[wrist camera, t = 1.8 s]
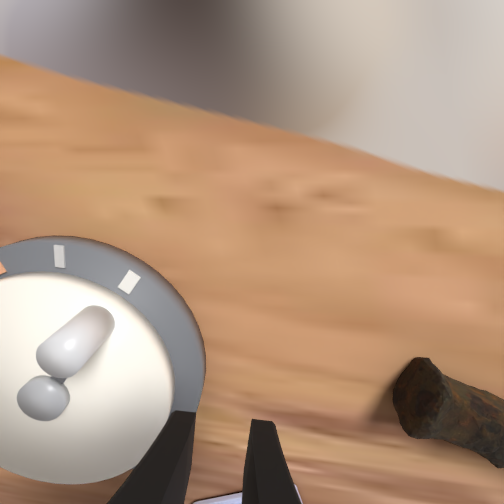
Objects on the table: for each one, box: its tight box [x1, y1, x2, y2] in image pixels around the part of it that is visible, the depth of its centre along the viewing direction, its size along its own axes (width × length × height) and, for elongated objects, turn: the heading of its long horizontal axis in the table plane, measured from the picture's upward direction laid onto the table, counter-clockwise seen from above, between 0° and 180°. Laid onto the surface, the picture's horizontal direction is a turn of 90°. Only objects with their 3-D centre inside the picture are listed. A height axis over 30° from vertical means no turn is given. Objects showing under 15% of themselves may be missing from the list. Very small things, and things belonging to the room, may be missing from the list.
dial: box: [0, 271, 175, 484], centre depth 15 cm, size 13×13×4 cm
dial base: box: [0, 236, 206, 470], centre depth 19 cm, size 16×16×2 cm
